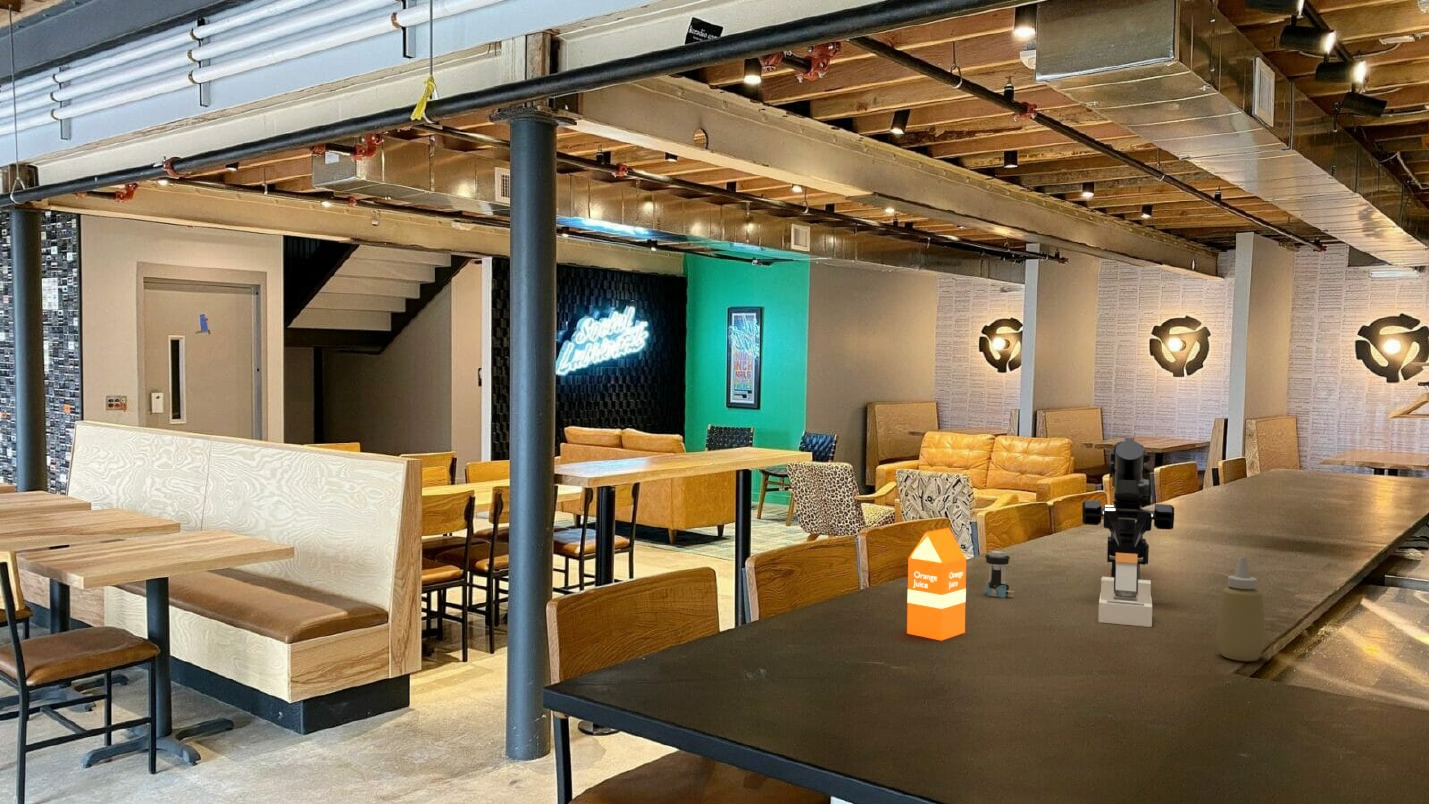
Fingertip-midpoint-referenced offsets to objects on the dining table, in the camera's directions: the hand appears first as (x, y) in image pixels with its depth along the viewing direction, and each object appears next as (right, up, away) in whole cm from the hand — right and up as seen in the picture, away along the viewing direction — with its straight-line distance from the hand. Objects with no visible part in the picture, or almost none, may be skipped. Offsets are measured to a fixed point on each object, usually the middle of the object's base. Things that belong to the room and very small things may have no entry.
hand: (1126, 545), depth 226 cm
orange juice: (-46, -14, -23) cm, 53 cm away
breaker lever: (-4, -8, -10) cm, 13 cm away
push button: (-24, -13, +11) cm, 30 cm away
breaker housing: (-4, -14, -9) cm, 17 cm away
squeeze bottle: (+5, -15, -39) cm, 42 cm away
